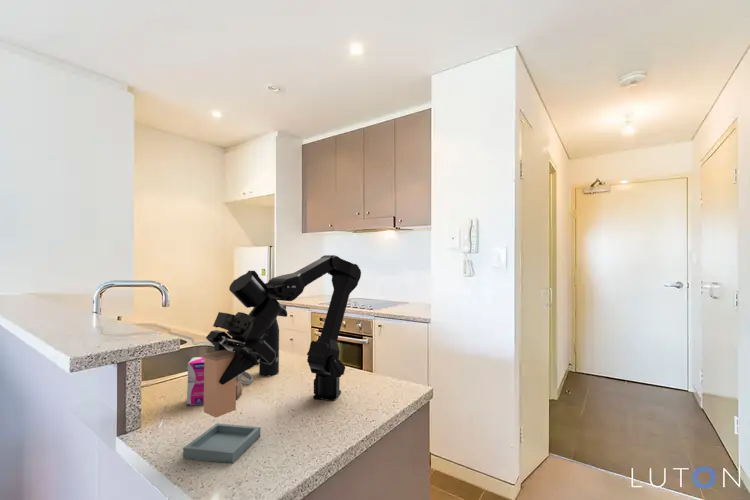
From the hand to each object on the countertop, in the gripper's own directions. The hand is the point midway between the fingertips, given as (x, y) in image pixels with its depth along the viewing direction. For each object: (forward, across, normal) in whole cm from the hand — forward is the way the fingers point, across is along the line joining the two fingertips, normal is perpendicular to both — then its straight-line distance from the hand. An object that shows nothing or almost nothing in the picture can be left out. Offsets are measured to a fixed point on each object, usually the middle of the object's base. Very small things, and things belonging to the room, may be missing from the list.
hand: (214, 381), depth 73 cm
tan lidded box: (+4, 0, +6) cm, 7 cm away
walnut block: (-3, -21, +22) cm, 31 cm away
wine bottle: (-17, -30, +36) cm, 50 cm away
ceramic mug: (-8, -31, +27) cm, 42 cm away
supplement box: (+2, -26, +18) cm, 31 cm away
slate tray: (+9, +2, +10) cm, 14 cm away
